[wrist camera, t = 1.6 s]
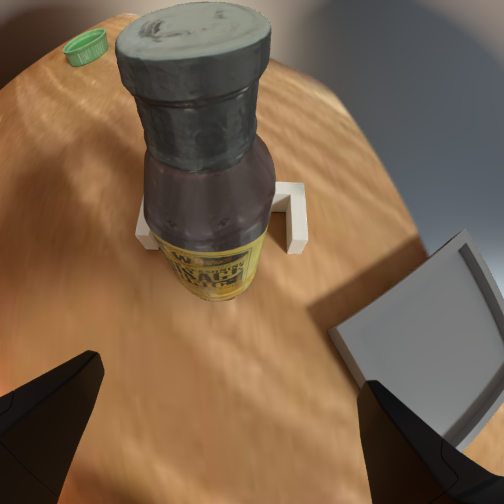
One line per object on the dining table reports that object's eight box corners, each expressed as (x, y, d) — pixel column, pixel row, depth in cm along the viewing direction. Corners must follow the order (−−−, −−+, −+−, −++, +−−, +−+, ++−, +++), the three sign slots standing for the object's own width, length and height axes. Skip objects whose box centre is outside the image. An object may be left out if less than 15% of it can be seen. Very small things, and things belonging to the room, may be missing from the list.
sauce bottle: (169, 288, 23) (14, 90, 4) (199, 224, 25) (144, -7, 7) (244, 318, 22) (252, 110, 4) (270, 248, 24) (322, 4, 6)
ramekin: (120, 43, 39) (115, 26, 35) (88, 68, 36) (81, 50, 32) (90, 45, 40) (85, 29, 36) (61, 69, 37) (54, 53, 33)
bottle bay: (300, 254, 24) (308, 240, 22) (146, 249, 24) (134, 235, 21) (298, 201, 26) (303, 183, 23) (155, 198, 26) (146, 180, 23)
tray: (410, 480, 17) (423, 488, 14) (326, 331, 22) (336, 327, 20) (513, 365, 20) (527, 363, 18) (452, 237, 26) (465, 227, 23)
